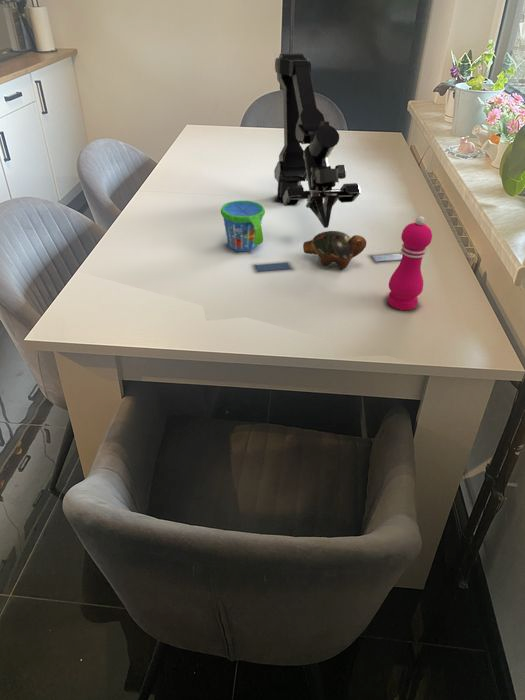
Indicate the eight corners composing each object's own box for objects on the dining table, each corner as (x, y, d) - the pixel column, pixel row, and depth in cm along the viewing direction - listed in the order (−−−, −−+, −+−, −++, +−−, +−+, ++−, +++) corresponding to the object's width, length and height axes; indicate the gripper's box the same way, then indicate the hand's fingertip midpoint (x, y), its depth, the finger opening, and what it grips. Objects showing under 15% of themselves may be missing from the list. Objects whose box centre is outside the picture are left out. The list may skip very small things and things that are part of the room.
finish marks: (255, 265, 131) (255, 265, 130) (400, 254, 138) (400, 253, 138) (258, 271, 128) (258, 271, 128) (405, 259, 136) (405, 259, 136)
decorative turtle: (364, 274, 129) (366, 244, 124) (300, 271, 131) (300, 241, 126) (365, 254, 136) (367, 225, 131) (305, 251, 138) (305, 222, 133)
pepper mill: (381, 294, 122) (398, 209, 110) (412, 294, 122) (432, 209, 110) (390, 312, 116) (408, 224, 104) (423, 311, 117) (445, 224, 105)
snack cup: (211, 237, 142) (211, 199, 136) (248, 230, 146) (249, 194, 140) (235, 263, 131) (236, 223, 125) (274, 255, 135) (276, 216, 129)
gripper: (288, 153, 127) (298, 217, 125) (363, 150, 130) (373, 212, 128) (278, 175, 137) (287, 234, 136) (348, 171, 141) (357, 229, 139)
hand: (326, 227), depth 134 cm, fingers closed
